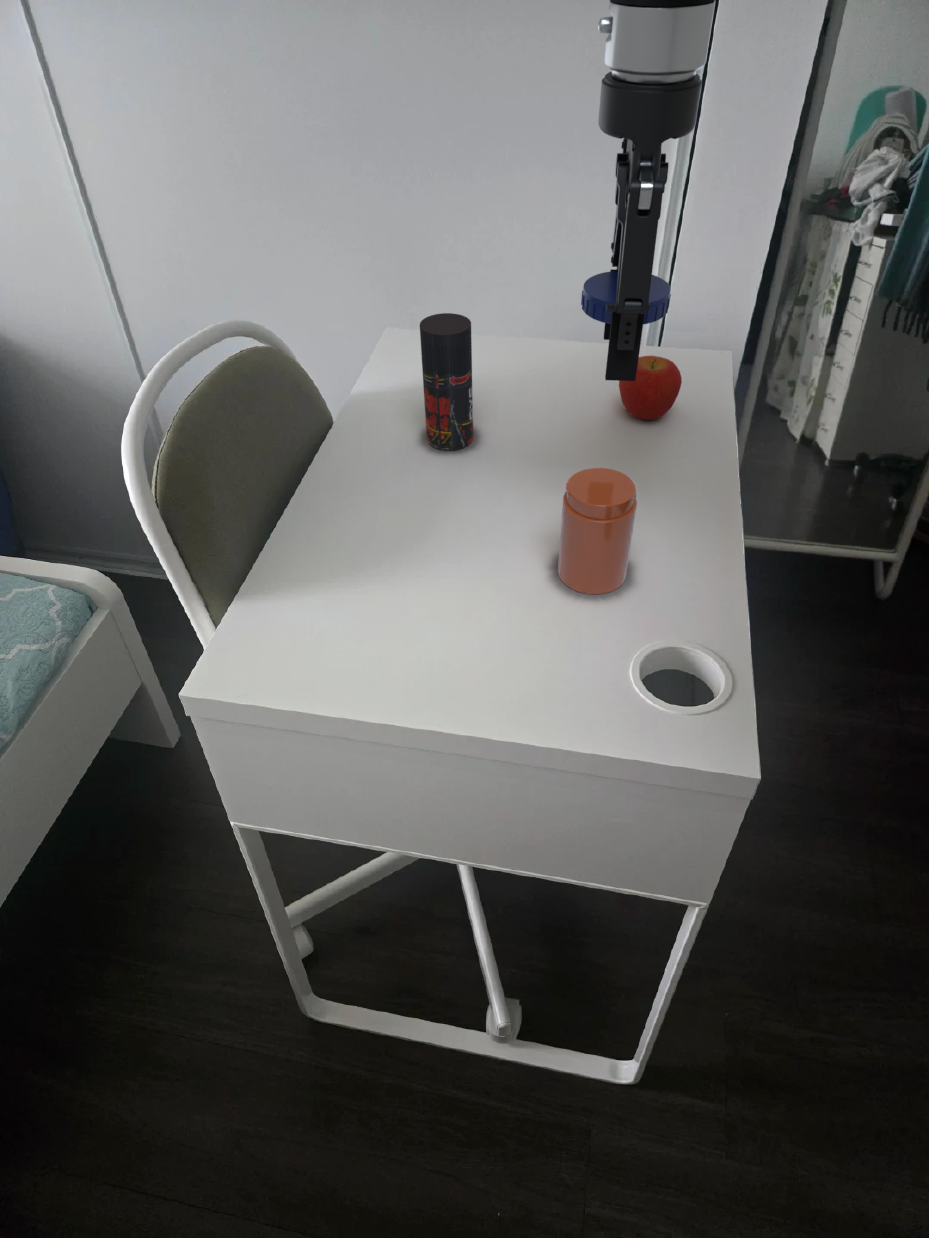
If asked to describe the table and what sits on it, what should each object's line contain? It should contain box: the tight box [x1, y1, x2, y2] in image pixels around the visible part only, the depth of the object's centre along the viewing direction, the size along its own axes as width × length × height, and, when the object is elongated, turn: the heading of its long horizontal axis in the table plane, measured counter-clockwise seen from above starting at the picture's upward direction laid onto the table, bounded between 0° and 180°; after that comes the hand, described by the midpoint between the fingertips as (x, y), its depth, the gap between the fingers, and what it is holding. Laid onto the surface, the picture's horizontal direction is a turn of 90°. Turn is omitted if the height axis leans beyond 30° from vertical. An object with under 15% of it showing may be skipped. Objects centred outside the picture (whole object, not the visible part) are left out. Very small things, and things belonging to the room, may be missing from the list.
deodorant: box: [419, 312, 474, 452], centre depth 98 cm, size 6×6×15 cm
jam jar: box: [557, 467, 638, 595], centre depth 80 cm, size 7×7×11 cm
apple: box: [618, 355, 683, 421], centre depth 104 cm, size 8×8×8 cm
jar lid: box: [580, 270, 672, 325], centre depth 73 cm, size 8×8×2 cm
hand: (618, 357), depth 77 cm, fingers closed on jar lid, 8 cm apart
